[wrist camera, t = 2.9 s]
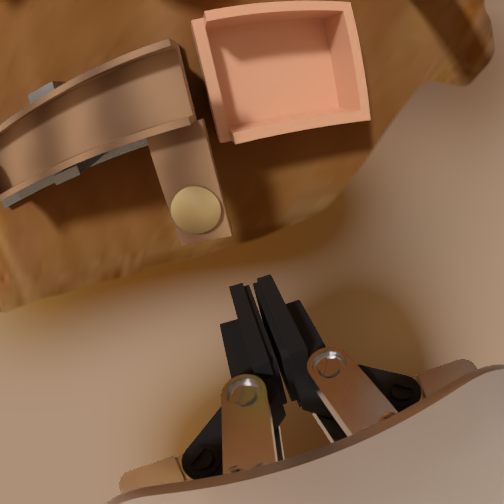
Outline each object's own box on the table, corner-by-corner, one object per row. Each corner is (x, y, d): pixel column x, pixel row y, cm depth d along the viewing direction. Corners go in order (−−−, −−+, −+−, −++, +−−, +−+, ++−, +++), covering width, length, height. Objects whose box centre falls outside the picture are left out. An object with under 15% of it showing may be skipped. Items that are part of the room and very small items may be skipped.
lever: (185, 41, 15) (173, 33, 12) (232, 229, 23) (230, 253, 20) (-23, 150, 17) (-46, 162, 14) (30, 273, 25) (15, 293, 22)
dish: (327, 12, 22) (350, 2, 18) (345, 114, 28) (370, 120, 24) (190, 27, 21) (191, 13, 17) (217, 139, 27) (223, 147, 23)
